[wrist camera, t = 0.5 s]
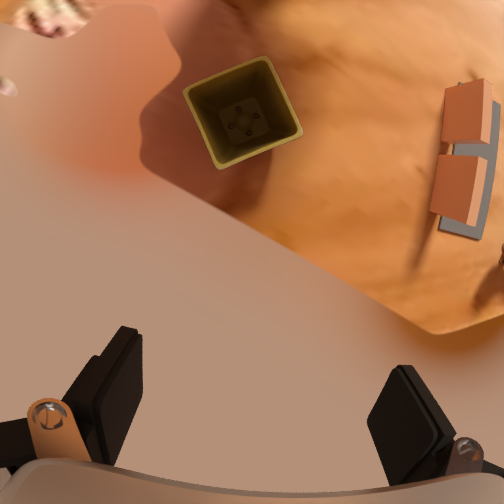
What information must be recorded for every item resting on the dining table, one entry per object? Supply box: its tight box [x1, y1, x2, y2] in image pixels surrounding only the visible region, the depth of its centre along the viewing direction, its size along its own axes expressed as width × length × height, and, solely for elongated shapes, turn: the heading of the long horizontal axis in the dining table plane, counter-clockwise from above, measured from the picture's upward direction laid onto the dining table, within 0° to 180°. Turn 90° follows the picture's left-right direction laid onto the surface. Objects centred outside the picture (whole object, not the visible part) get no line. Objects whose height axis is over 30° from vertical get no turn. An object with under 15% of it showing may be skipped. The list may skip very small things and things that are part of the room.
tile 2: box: [441, 78, 493, 144], centre depth 30 cm, size 8×2×9 cm, turn 171°
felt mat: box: [438, 82, 501, 240], centre depth 35 cm, size 22×9×1 cm, turn 171°
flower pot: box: [183, 56, 303, 170], centre depth 31 cm, size 9×9×9 cm
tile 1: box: [429, 155, 488, 227], centre depth 33 cm, size 8×2×9 cm, turn 171°
